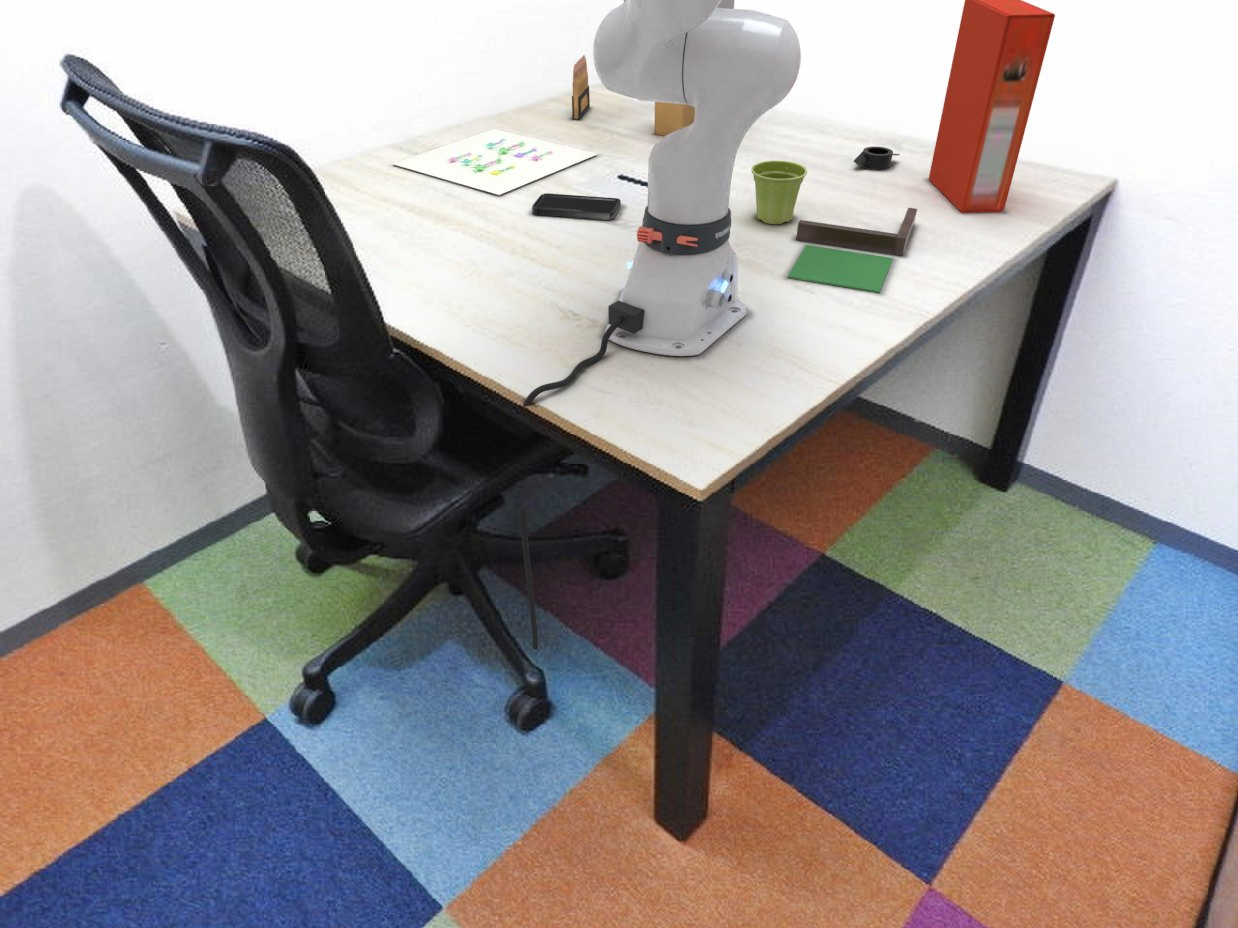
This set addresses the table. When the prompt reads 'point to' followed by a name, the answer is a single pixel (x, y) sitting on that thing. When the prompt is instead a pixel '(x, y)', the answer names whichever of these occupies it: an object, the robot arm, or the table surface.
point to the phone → (576, 206)
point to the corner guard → (858, 235)
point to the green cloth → (841, 268)
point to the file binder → (988, 101)
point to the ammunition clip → (580, 90)
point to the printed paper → (495, 160)
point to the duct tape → (875, 158)
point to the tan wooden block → (677, 105)
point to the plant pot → (777, 189)
